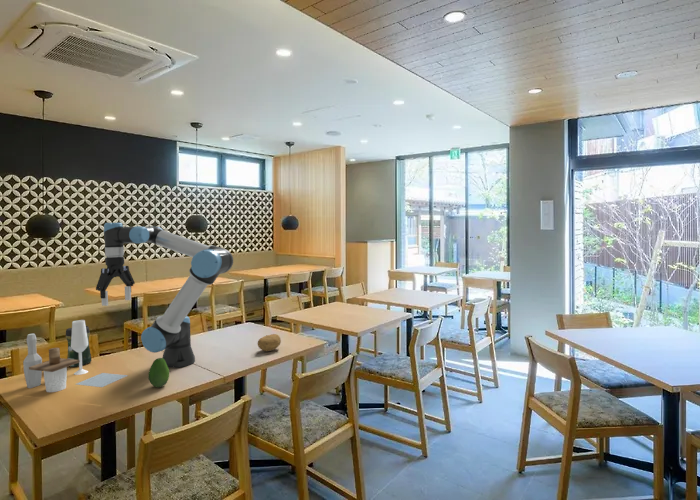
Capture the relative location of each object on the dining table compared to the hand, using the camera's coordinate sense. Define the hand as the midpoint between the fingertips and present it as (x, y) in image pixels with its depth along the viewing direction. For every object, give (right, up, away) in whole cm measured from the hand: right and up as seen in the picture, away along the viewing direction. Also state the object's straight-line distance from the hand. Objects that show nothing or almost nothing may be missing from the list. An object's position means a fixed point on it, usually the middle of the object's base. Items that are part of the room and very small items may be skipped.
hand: (117, 302), depth 193 cm
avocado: (+28, -33, -19) cm, 47 cm away
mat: (0, -32, -11) cm, 34 cm away
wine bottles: (-24, -31, +11) cm, 41 cm away
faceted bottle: (-26, -33, -17) cm, 45 cm away
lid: (-13, -23, -22) cm, 34 cm away
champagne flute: (-15, -32, -2) cm, 36 cm away
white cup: (-13, -33, -21) cm, 41 cm away
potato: (+64, -29, +31) cm, 77 cm away
